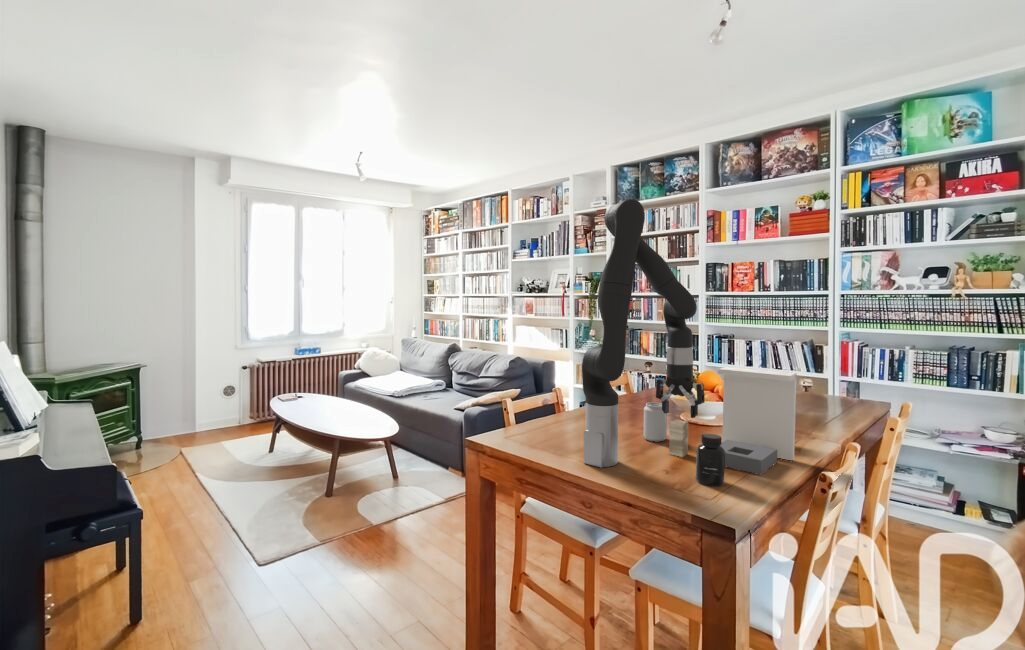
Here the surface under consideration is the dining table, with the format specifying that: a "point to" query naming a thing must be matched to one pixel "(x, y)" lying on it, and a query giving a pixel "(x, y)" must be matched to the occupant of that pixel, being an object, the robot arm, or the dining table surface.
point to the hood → (760, 408)
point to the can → (655, 422)
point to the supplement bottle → (710, 461)
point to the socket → (748, 456)
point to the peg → (678, 438)
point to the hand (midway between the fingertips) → (679, 415)
